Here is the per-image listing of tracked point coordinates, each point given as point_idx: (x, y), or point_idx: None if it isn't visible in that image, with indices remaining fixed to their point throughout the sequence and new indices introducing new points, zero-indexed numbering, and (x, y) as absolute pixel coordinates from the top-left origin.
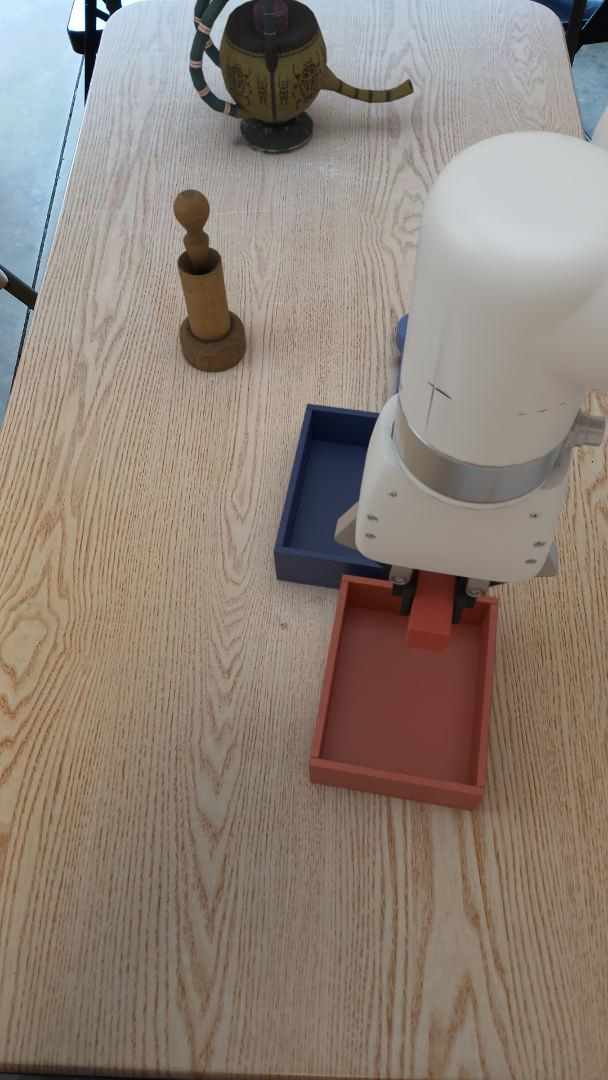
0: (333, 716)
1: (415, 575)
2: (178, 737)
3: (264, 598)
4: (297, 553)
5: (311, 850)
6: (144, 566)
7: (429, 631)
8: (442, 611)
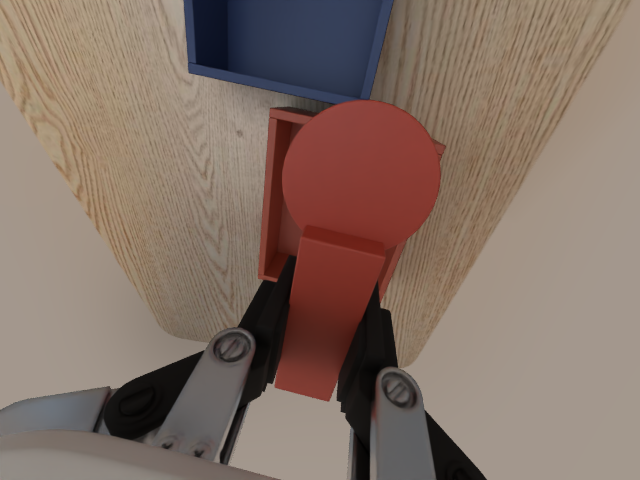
0: (284, 216)
1: (269, 370)
2: (185, 219)
3: (217, 102)
4: (215, 76)
5: None
6: (99, 60)
7: (301, 394)
8: (321, 379)
